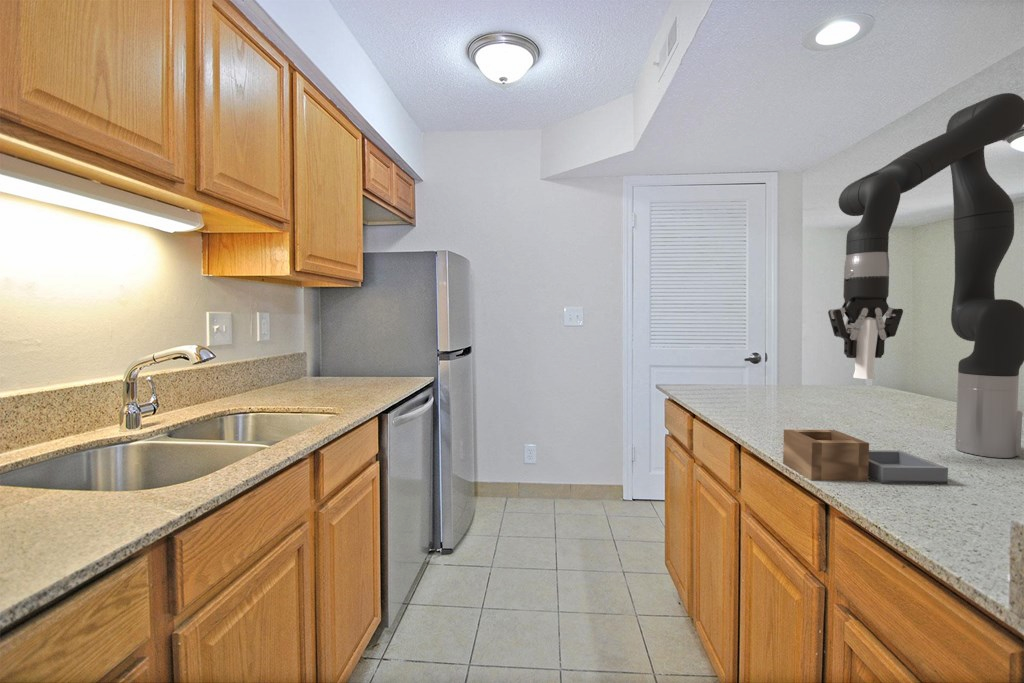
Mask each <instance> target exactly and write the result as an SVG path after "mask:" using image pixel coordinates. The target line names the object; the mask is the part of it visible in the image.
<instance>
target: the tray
mask: <svg viewBox="0 0 1024 683" xmlns="http://www.w3.org/2000/svg"><path fill="white" fill-rule="evenodd" d="M948 477H949V468H948V467H946V466H944V465H940V464H938V463H935V462H933V461H930V460H927V459H925V458H922V457H919V456H917V455H913V454H912V453H910V452H909V453H908V452H906V451H904V450H896V449H894V450H893V449H892V450H890V449H888V450H886V449H885V450H883V449H882V450H879V449H877V450H875V449H874V450H873V449H869V466H868V479H869V478H870V479H872V480H873V481H876V482H878V483H880V484H883V485H934V484H938V485H939V486H941V485H942V486H944V485H948V480H949V478H948Z"/></svg>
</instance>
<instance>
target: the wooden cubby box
mask: <svg viewBox="0 0 1024 683" xmlns="http://www.w3.org/2000/svg"><path fill="white" fill-rule="evenodd" d="M782 443H783V448H782V449H783V451H782V463H783V465H785V466H787V467H789V468H790V469H792V470H794V471H795V472H796V473H799V474H800V475H802V476H804V477H805V478H806V479H808V480H810V481H837V482H838V481H843V482H845V481H847V482H853V481H854V482H855V481H856V482H858V481H859V482H869V477H868V466H869V450H870V442H867V441H866V440H863V439H860V438H857V437H855V436H852V435H849V434H847V433H843V432H841V431H840V430H839V431H838V430H836V429H783V442H782Z"/></svg>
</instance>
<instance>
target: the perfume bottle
mask: <svg viewBox="0 0 1024 683" xmlns="http://www.w3.org/2000/svg"><path fill="white" fill-rule="evenodd" d="M854 324H855V323H853V325H854ZM877 336H878V328H877V322H876V319H875V318H871V317H867V318H865V319H864V322H863V324H862V327H861V329H860V330H859V331H858V334H857V336H856V339H855V340H856V341H857V352H856V358H854V369H855V370H854V372H853V376H852V377H853V378H854V379H860V380H861V379H863V380H874V379H876V377H875V372H874V367H875V360H876V359H875V352H876V344H877Z"/></svg>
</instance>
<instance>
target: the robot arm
mask: <svg viewBox="0 0 1024 683" xmlns="http://www.w3.org/2000/svg"><path fill="white" fill-rule="evenodd" d="M1023 127H1024V99H1023V98H1022V96H1020V95H1019V94H1017V93H1011V92H1006V93H998V94H996V95H993V96H990V97H987V98H985V99H982V100H980V101H979V102H976V103H974V104H971V105H969V106H966V107H964V108H962V109H960V110H958V111H957V112H954V114H952V115H951V117H950V118H949V120H948V122H947V124H946V131H945V132H944V133H942V134H940V135H937V136H935V137H933V138H931V139H929V140H927V141H925V142H924V143H921V144H919V145H918V146H915V147H914V148H911V149H910V150H908V151H906V152H905V153H903V154H902V155H900V156H898V157H897V158H895V159H894V160H892V161H891V162H889V163H888V164H886V165H884V166H883V167H881V168H879V169H877V170H875V171H873V172H871V173H868V174H867V175H865V176H862V177H861V178H858V179H856V180H855V181H854V182H851V183H849V184H848V185H847V186H845V187H844V189H843V190H842V192H841V193H840V195H839V197H838V206H839V209H840V211H841V212H842V213H844V215H847V216H850V217H859V216H862V217H861V220H860V222H859V223H858V224H856V225H854V226H853V227H851V228H850V229H849V230H848V231H847V233H846V238H845V239H846V240H845V241H846V243H845V244H846V245H845V260H844V266H843V267H844V268H843V297H842V298H843V300H844V302H843V304H842V306H841V307H839V308H836V309H835V308H833V309H829V310H828V311H827V314H828V317H829V322H830V325H831V329H832V332H833V335H834V337H837V338H841V339H843V341H844V342H843V354H844V355H845V356H846V358H848V359H855V358H856V352H857V341H856V340H855V339H856V336H857V334H858V331H859V330H860V329H861V327H862V324H863V322H864V319H865V318H867V317H871V318H875V319H876V322H877V328H878V336H877V344H876V352H875V358H876V359H882V357H883V356H884V354H885V341H886V339H888V338H889V339H890V338H891V337H895V336H896V334H897V333H898V332H897V331H898V328H899V325H900V322H901V318H902V317H903V313H904V309H902V308H895V307H894V308H893V307H890V306H889V304H888V303H887V301H888V300H887V299H888V298H889V289H890V258H889V242H890V241H889V240H890V238H889V237H890V236H889V234H890V233H889V232H890V230H891V228H892V224H893V222H894V219H895V217H896V213H897V210H898V207H899V204H900V201H901V195H902V194H904V193H907V192H909V191H911V190H912V189H914V188H916V187H918V186H919V185H921V184H922V183H924V182H925V181H927V180H929V179H930V178H932V177H934V176H935V175H937V174H938V173H940V172H941V171H943V170H944V169H946V168H948V167H949V166H950V174H951V181H952V197H953V198H952V199H953V219H952V220H953V240H954V241H953V243H954V244H953V245H954V287H953V296H952V304H951V311H950V313H951V314H950V324H951V327H952V330H953V331H954V333H955V335H956V336H957V337H959V338H960V339H962V340H964V341H969V342H974V344H973V345H974V346H973V351H972V352H971V353H970V355H968V356H967V357H963V358H962V359H960V360H959V362H958V365H957V366H958V367H957V394H956V395H957V396H956V397H957V398H956V415H955V416H956V418H955V419H956V420H955V423H956V424H955V445H954V446H955V449H956V450H957V451H960V452H963V453H966V454H971V455H976V456H982V457H989V458H998V459H999V458H1000V459H1001V458H1003V459H1011V458H1015V457H1020V456H1021V450H1022V429H1023V428H1022V427H1023V412H1022V411H1021V410H1018V404H1019V403H1018V402H1019V381H1020V380H1019V379H1020V378H1019V376H1020V369H1021V367H1022V365H1023V364H1024V305H1023V304H1021V303H1020V302H1017V301H1015V300H1012V299H1004V298H1002V299H1001V298H999V299H998V298H997V299H996V297H995V295H996V294H995V281H996V275H997V272H998V270H999V267H1000V265H1001V264H1002V262H1003V260H1004V258H1005V256H1006V254H1007V253H1008V251H1009V249H1010V246H1011V244H1012V242H1013V239H1014V235H1015V208H1014V207H1015V206H1014V202H1013V200H1012V199H1011V197H1010V196H1009V194H1008V193H1007V192H1006V191H1005V189H1004V188H1002V187H1001V185H999V184H998V183H997V182H996V181H995V179H993V177H992V176H991V175H990V173H989V172H988V170H987V169H988V168H987V166H986V160H985V147H986V146H989V145H991V144H994V143H998V142H1000V141H1003V140H1006V139H1007V138H1009V137H1011V136H1013V135H1014V134H1016V133H1017V132H1018V131H1019V130H1021V128H1023ZM884 316H885V320H884V319H883V318H884ZM845 317H847V319H846V322H845V321H844V318H845ZM853 323H855V324H854V325H853Z"/></svg>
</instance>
